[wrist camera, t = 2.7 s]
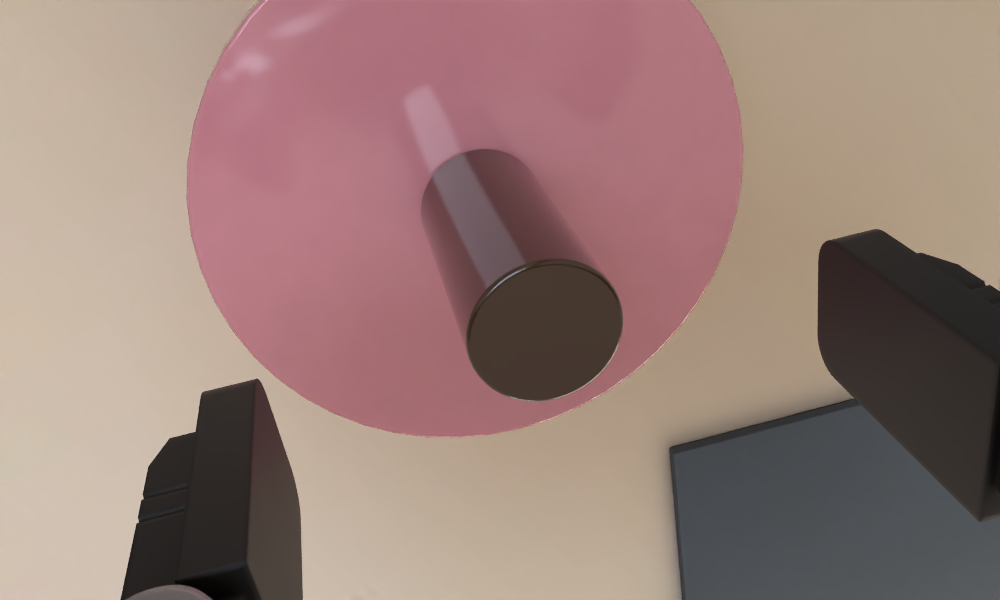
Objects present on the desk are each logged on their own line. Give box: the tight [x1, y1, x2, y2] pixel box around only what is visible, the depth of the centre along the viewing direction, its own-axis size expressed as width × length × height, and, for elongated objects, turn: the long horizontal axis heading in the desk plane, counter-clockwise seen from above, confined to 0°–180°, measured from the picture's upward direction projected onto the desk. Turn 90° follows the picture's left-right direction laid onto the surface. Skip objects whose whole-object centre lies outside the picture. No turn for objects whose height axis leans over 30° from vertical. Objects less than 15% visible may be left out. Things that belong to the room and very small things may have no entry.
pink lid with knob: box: [187, 0, 743, 438], centre depth 16 cm, size 11×11×6 cm
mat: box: [670, 399, 1000, 600], centre depth 38 cm, size 20×14×1 cm
